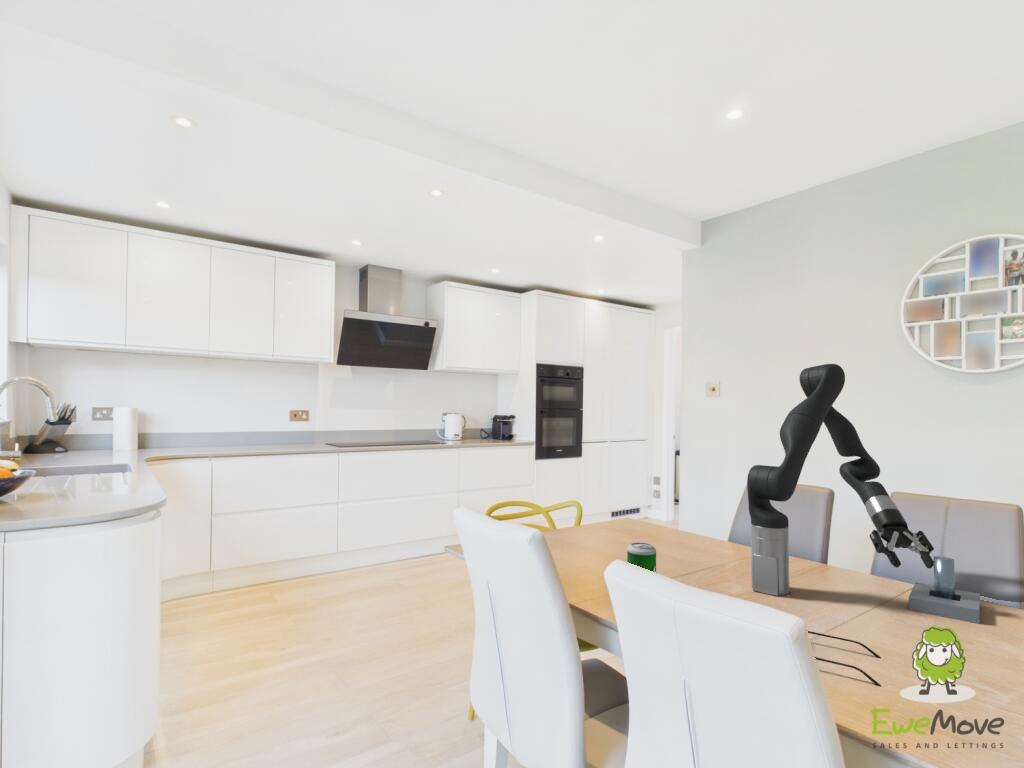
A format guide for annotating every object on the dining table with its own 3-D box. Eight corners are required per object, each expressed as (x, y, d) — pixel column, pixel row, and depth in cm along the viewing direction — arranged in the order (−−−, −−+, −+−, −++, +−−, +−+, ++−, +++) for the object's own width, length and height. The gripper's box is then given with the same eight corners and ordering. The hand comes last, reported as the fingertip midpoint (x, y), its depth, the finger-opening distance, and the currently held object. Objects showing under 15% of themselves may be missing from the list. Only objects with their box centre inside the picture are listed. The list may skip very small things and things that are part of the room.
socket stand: (979, 623, 123) (978, 610, 123) (909, 609, 131) (908, 597, 131) (980, 605, 135) (979, 593, 135) (915, 593, 143) (915, 582, 143)
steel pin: (955, 611, 130) (953, 561, 131) (934, 607, 133) (933, 558, 133) (955, 607, 133) (954, 558, 134) (935, 603, 136) (934, 555, 136)
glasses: (786, 638, 114) (786, 614, 114) (881, 659, 105) (880, 633, 105) (776, 663, 102) (776, 636, 103) (881, 689, 93) (880, 659, 93)
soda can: (651, 597, 138) (651, 549, 138) (623, 591, 142) (623, 545, 142) (659, 589, 144) (659, 544, 145) (632, 584, 148) (632, 540, 149)
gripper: (865, 507, 153) (893, 558, 141) (916, 507, 153) (949, 559, 141) (854, 522, 158) (881, 573, 146) (904, 523, 158) (934, 574, 146)
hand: (914, 566), depth 143 cm, fingers open, 8 cm apart
